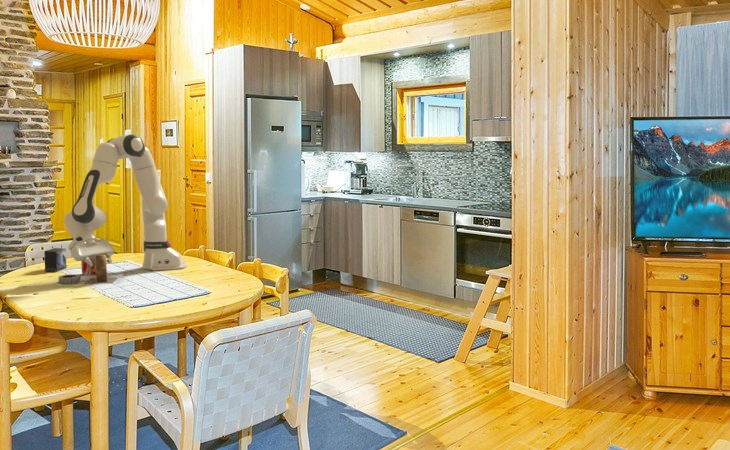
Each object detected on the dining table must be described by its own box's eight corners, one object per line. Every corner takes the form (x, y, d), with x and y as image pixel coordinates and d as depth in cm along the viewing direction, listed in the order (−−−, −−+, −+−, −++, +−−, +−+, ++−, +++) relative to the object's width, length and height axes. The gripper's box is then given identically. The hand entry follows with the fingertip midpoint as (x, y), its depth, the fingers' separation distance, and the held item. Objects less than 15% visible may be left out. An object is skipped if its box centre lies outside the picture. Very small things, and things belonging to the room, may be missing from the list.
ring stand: (87, 281, 294) (86, 273, 293) (80, 287, 282) (80, 278, 282) (59, 282, 291) (58, 274, 291) (51, 288, 280) (51, 279, 279)
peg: (107, 279, 293) (106, 254, 291) (106, 281, 289) (105, 256, 287) (97, 280, 292) (96, 254, 290) (95, 282, 287) (95, 256, 286)
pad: (117, 279, 299) (117, 277, 299) (112, 285, 288) (112, 282, 287) (90, 280, 297) (90, 277, 297) (84, 285, 285) (84, 283, 285)
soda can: (91, 277, 304) (90, 252, 302) (78, 276, 305) (77, 252, 304) (100, 274, 311) (99, 250, 309) (87, 273, 312) (86, 249, 311)
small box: (57, 271, 316) (56, 251, 315) (44, 271, 316) (43, 251, 315) (67, 268, 327) (66, 248, 326) (55, 267, 327) (54, 247, 326)
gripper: (102, 242, 305) (117, 264, 301) (64, 248, 287) (79, 271, 283) (108, 234, 302) (123, 256, 299) (70, 239, 284) (85, 263, 281)
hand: (101, 263), depth 291 cm, fingers open, 8 cm apart
